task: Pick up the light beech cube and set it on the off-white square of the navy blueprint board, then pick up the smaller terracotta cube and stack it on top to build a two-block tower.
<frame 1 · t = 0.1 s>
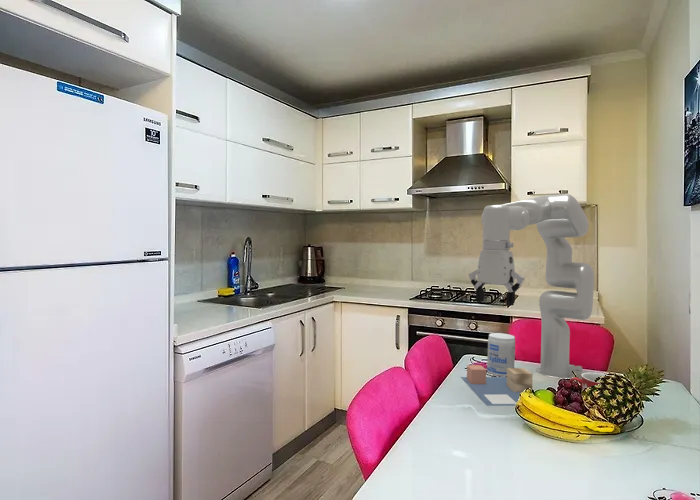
hand: (494, 303, 126), 31 cm above the table, tool pointing down, fingers open, 9 cm apart
mug: (591, 425, 114), on the table
terracotta block: (476, 381, 146), point 1 cm above the table, touching blueprint board
beech block: (519, 388, 139), point 1 cm above the table, touching blueprint board
blueprint board: (502, 392, 138), on the table
supplement tub: (500, 375, 157), on the table
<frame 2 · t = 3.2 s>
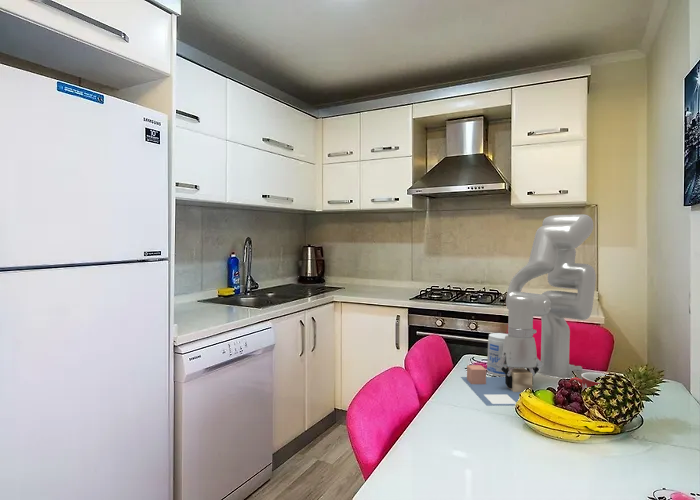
hand: (519, 386, 139), 2 cm above the table, tool pointing down, fingers closed on beech block, 6 cm apart
beech block: (519, 388, 139), point 1 cm above the table, touching blueprint board, gripper
everything else where it was.
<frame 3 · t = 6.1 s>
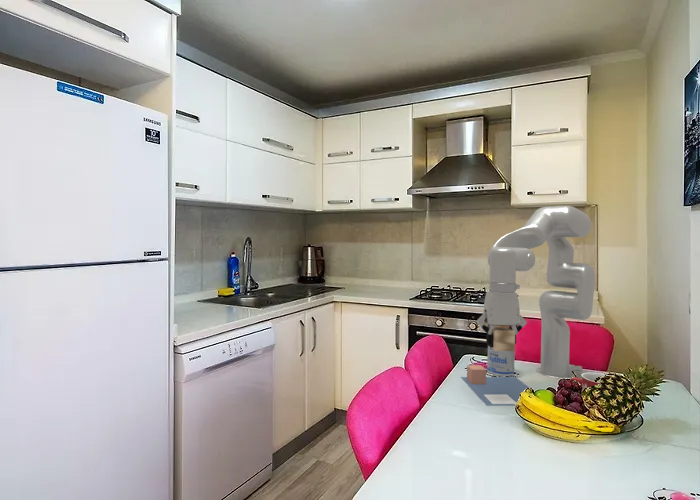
hand: (501, 346, 129), 18 cm above the table, tool pointing down, fingers closed on beech block, 6 cm apart
beech block: (501, 348, 129), point 17 cm above the table, touching gripper
everything else where it was.
when the fingers open (3 cm above the table, at t = 9.2 s): beech block drops 2 cm, resting on blueprint board.
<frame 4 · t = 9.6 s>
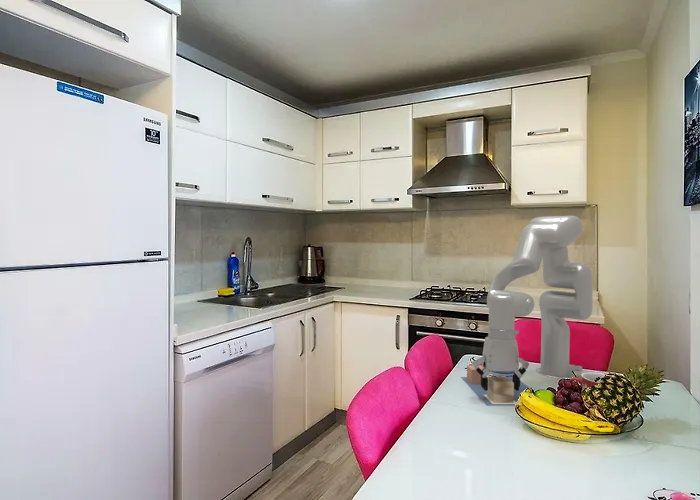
hand: (500, 389, 130), 4 cm above the table, tool pointing down, fingers open, 9 cm apart
beech block: (499, 399, 130), point 1 cm above the table, touching blueprint board
everything else where it was.
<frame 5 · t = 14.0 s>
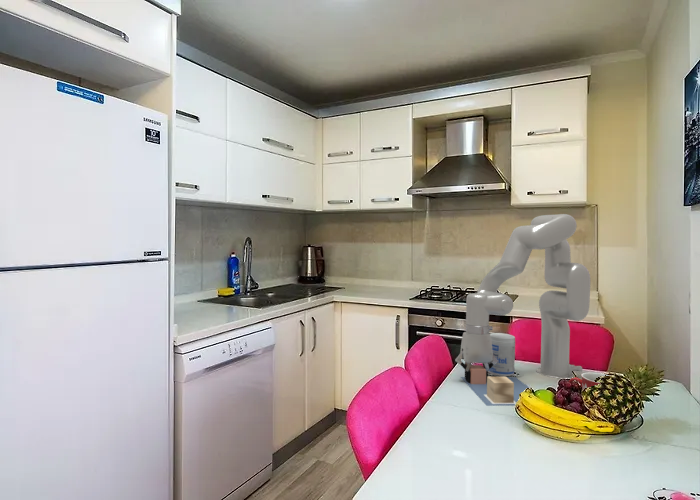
hand: (476, 381, 146), 1 cm above the table, tool pointing down, fingers closed on terracotta block, 4 cm apart
terracotta block: (476, 381, 146), point 1 cm above the table, touching blueprint board, gripper
everything else where it was.
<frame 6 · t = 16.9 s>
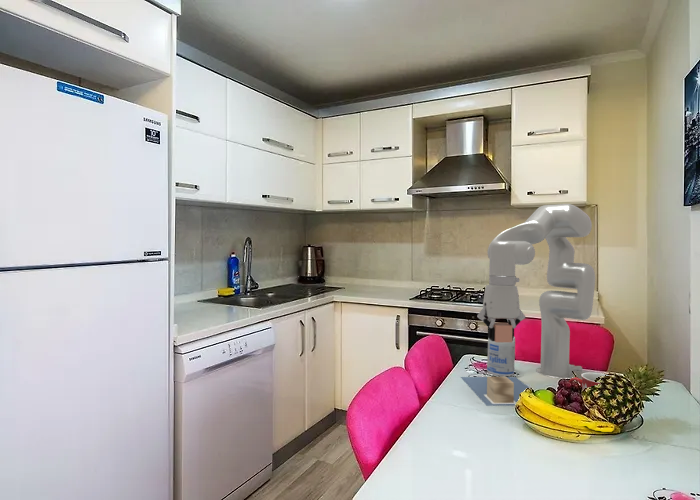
hand: (500, 339, 129), 19 cm above the table, tool pointing down, fingers closed on terracotta block, 4 cm apart
terracotta block: (500, 340, 129), point 19 cm above the table, touching gripper
everything else where it was.
when the fingers open (9 cm above the table, at t = 19.8 s): terracotta block drops 1 cm, resting on beech block.
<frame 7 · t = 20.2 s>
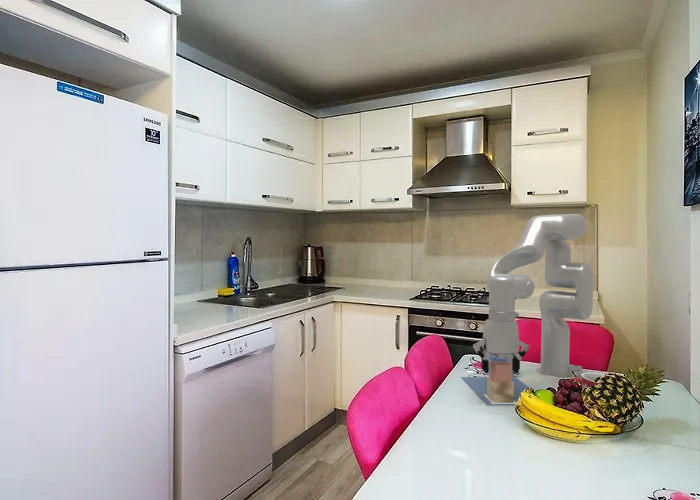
hand: (500, 371, 129), 10 cm above the table, tool pointing down, fingers open, 9 cm apart
terracotta block: (500, 379, 130), point 7 cm above the table, touching beech block
beech block: (499, 399, 130), point 1 cm above the table, touching blueprint board, terracotta block
everything else where it was.
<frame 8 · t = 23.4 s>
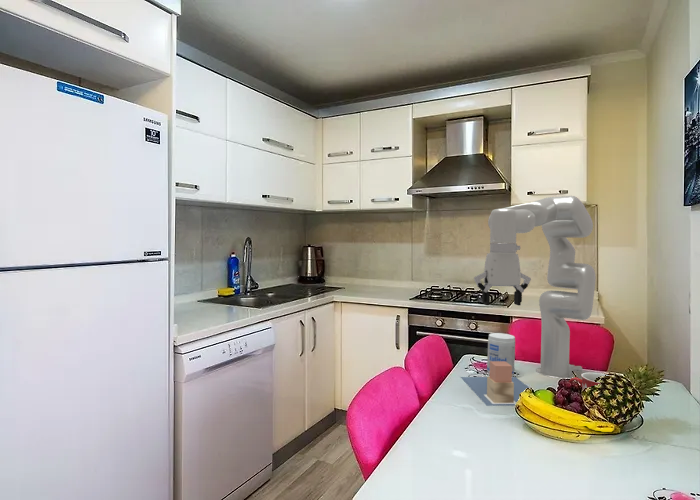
hand: (501, 304, 129), 30 cm above the table, tool pointing down, fingers open, 9 cm apart
nothing on the table moved.
at the end: beech block 0.0 cm from the target spot on the blueprint board, point 1.0 cm above the blueprint board's base; terracotta block 0.0 cm off-centre on the beech block, point 6.0 cm above the beech block's base; terracotta block tilted 0° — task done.
